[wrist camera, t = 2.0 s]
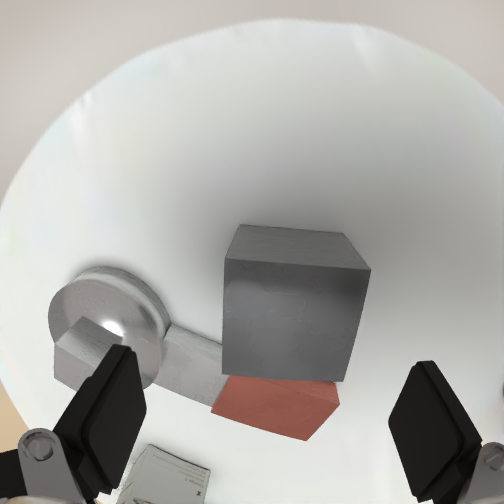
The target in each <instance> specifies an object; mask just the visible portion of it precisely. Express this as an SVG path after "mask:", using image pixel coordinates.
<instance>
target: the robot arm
mask: <svg viewBox="0 0 504 504" xmlns="http://www.w3.org/2000/svg"><path fill="white" fill-rule="evenodd" d="M146 410H147V407H146V402H145V397H144V392H143V387H142V382H141V377H140V371H139V366H138V360H137V354H136V352H135V351H132V349H131V347H130V346H126V345H120V344H113V345H112V346H111V347H110V349H109V350H108V352H107V353H106V355H105V356H104V358H103V359H102V361H101V362H100V364H99V365H98V367H97V368H96V370H95V371H94V373H93V374H92V376H89V377H87V378H86V379H85V381H84V382H83V384H82V385H81V387H80V388H79V390H78V391H77V393H76V394H75V396H74V397H73V399H72V400H71V402H70V404H69V405H68V407H67V408H66V410H65V411H64V413H63V414H62V416H61V418H60V419H59V421H58V422H57V424H56V426H55V427H54V429H53V431H50V430H48V429H44V428H35V429H32V430H29V431H27V432H26V433H25V434H23V436H22V437H21V438H20V440H19V443H18V449H14V450H10V451H6V452H3V453H0V504H97V501H96V499H95V498H97V497H98V494H99V492H102V493H105V494H108V495H110V494H111V492H112V489H117V488H118V486H119V484H120V481H121V478H122V475H123V473H124V470H125V467H126V465H127V462H128V459H129V457H130V454H131V451H132V449H133V446H134V444H135V441H136V438H137V436H138V433H139V431H140V428H141V426H142V423H143V420H144V418H145V415H146ZM388 425H389V428H390V431H391V434H392V436H393V439H394V442H395V445H396V448H397V451H398V453H399V456H400V459H401V462H402V465H403V468H404V471H405V474H406V477H407V480H408V483H409V486H410V489H411V493H412V495H413V496H415V497H417V501H418V503H420V502H424V501H428V500H431V499H432V500H433V503H434V504H504V445H502V444H500V443H496V442H490V443H487V444H485V445H484V446H483V447H482V445H481V442H482V438H481V437H480V435H479V433H478V431H477V430H476V428H475V426H474V424H473V423H472V421H471V419H470V418H469V416H468V414H467V413H466V411H465V409H464V408H463V406H462V404H461V403H460V401H459V399H458V398H457V396H456V395H455V393H454V391H453V390H452V388H451V387H450V385H449V383H448V382H447V380H446V379H445V377H444V376H443V374H442V373H441V371H440V370H439V368H438V367H437V365H436V364H435V362H434V361H432V360H431V361H419V362H417V363H416V365H415V366H413V367H412V368H411V370H410V373H409V375H408V377H407V380H406V382H405V384H404V386H403V389H402V391H401V393H400V395H399V398H398V400H397V402H396V404H395V406H394V408H393V410H392V412H391V414H390V416H389V420H388Z"/></svg>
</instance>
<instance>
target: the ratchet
mask: <svg viewBox="0 0 504 504" xmlns="http://www.w3.org/2000/svg"><path fill="white" fill-rule="evenodd" d="M48 322H49V328H50V332H51V336H52V338H53V341H54V343H55V348H54V378H55V379H57V380H58V381H60V382H62V383H63V384H65V385H67V386H68V387H70V388H72V389H73V390H75V391H78V390H79V388H80V387H81V385H82V384H83V382H84V381H85V379H86V378H87V377H89V376H92V374H93V373H94V371H95V370H96V368H97V367H98V365H99V364H100V362H101V361H102V359H103V358H104V356H105V355H106V353H107V352H108V350H109V349H110V347H111V346H112V345H113V344H120V345H126V346H130V347H131V349H132V351H135V352H136V354H137V360H138V366H139V371H140V377H141V382H142V387H143V390H144V389H145V388H147V387H148V386H150V385H151V384H152V383H155V384H157V385H159V386H161V387H164V388H166V389H168V390H171V391H173V392H175V393H178V394H180V395H182V396H185V397H187V398H190V399H192V400H195V401H197V402H200V403H203V404H205V405H208V406H211V407H212V408H211V413H214V414H216V415H219V416H222V417H225V418H228V419H231V420H234V421H237V422H240V423H243V424H246V425H249V426H252V427H256V428H259V429H262V430H266V431H269V432H273V433H276V434H280V435H284V436H287V437H291V438H295V439H299V440H303V441H307V440H308V439H309V438H310V437H311V436H312V435H313V434H314V433H315V432H316V430H317V429H318V428H319V427H320V426H321V425H322V424H323V423H324V422H325V421H326V420H327V418H328V417H329V416H330V415H331V414H332V413H333V412H334V411H335V409H336V408H337V407H338V406H339V405H340V403H339V398H338V394H337V389H336V384H335V383H332V382H329V381H298V380H280V379H266V378H254V377H243V376H233V375H224V374H222V345H220V344H218V343H216V342H213V341H211V340H208V339H206V338H204V337H201V336H199V335H197V334H194V333H192V332H190V331H187V330H185V329H183V328H181V327H178V326H176V325H174V324H172V325H171V321H170V318H169V315H168V313H167V311H166V309H165V307H164V305H163V303H162V302H161V300H160V299H159V298H158V296H157V295H156V294H155V293H154V291H153V290H152V289H151V288H150V287H149V286H148V285H146V284H145V283H144V282H143V281H141V280H140V279H139V278H137V277H136V276H134V275H132V274H130V273H128V272H126V271H123V270H121V269H117V268H113V267H95V268H92V269H89V270H87V271H85V272H83V273H82V274H80V275H79V276H78V277H76V278H75V279H74V280H72V281H71V282H70V283H68V284H67V285H66V286H64V287H63V288H62V289H61V290H59V291H58V292H57V293H56V294H55V296H54V297H53V299H52V301H51V303H50V307H49V312H48Z"/></svg>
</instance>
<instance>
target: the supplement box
mask: <svg viewBox="0 0 504 504" xmlns="http://www.w3.org/2000/svg"><path fill="white" fill-rule="evenodd" d="M209 476H210V471H209V470H205V469H202V468H200V467H197V466H195V465H192V464H190V463H187V462H185V461H183V460H180V459H178V458H176V457H174V456H172V455H170V454H167V453H165V452H163V451H161V450H159V449H157V448H156V447H154V446H152V445H148V447H147V448H146V449H145V451H144V452H143V453H142V455H141V456H140V457H139V459H138V460H137V461H136V462H135V464H134V465H133V466H132V468H131V470H130V472H129V475H128V477H127V479H126V482H125V484H124V486H123V488H122V491H121V493H120V496H119V498H118V501H117V503H116V504H204V499H205V495H206V490H207V485H208V481H209Z"/></svg>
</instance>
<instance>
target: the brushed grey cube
mask: <svg viewBox="0 0 504 504" xmlns="http://www.w3.org/2000/svg"><path fill="white" fill-rule="evenodd" d="M370 273H371V269H370V268H369V266H368V265H367V264H366V262H365V261H364V260H363V259H362V257H361V256H360V255H359V253H358V252H357V251H356V249H355V248H354V247H353V246H352V244H351V243H350V242H349V240H348V239H347V238H346V237H345V235H344V234H343V233H332V232H321V231H310V230H299V229H288V228H276V227H264V226H251V225H239V227H238V230H237V232H236V234H235V236H234V239H233V241H232V243H231V245H230V248H229V250H228V252H227V254H226V257H225V267H224V296H223V332H222V374H224V375H233V376H243V377H254V378H266V379H280V380H298V381H329V382H343V380H344V377H345V374H346V370H347V367H348V363H349V360H350V356H351V353H352V349H353V345H354V342H355V338H356V334H357V330H358V326H359V322H360V318H361V314H362V310H363V305H364V301H365V297H366V292H367V287H368V283H369V278H370Z"/></svg>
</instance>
